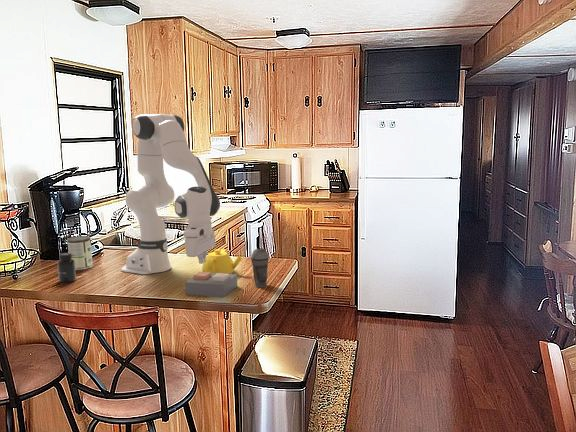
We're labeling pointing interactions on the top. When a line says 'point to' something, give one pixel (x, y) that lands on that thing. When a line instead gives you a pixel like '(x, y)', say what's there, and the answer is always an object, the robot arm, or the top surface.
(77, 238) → the coffee can
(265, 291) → the top surface
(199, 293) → the key console
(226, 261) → the teapot
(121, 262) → the top surface
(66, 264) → the supplement bottle
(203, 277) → the terracotta key
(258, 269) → the beverage cup
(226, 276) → the white key
